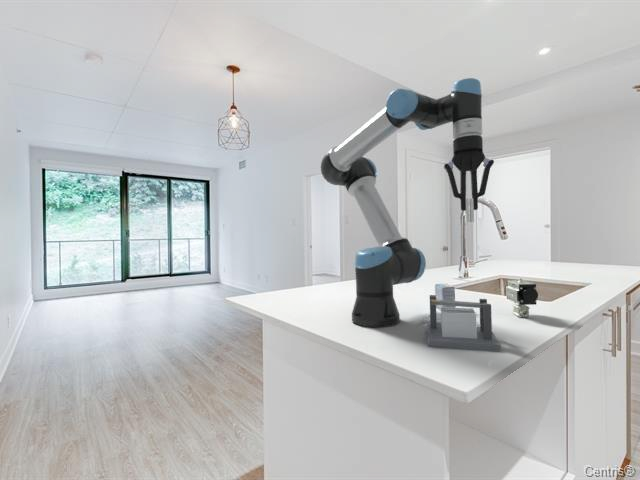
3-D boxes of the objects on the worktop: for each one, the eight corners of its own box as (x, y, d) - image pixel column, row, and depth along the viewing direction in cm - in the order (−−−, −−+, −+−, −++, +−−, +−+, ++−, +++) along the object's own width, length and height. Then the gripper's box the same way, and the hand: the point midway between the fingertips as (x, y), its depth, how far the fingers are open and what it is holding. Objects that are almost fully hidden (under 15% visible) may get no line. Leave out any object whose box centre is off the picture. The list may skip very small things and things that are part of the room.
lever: (431, 306, 87) (431, 301, 87) (430, 302, 91) (431, 297, 91) (489, 310, 83) (489, 305, 83) (486, 306, 87) (486, 301, 87)
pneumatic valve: (520, 311, 112) (519, 275, 112) (539, 321, 101) (538, 281, 100) (502, 311, 113) (501, 276, 113) (519, 321, 101) (519, 281, 101)
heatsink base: (428, 346, 83) (427, 304, 83) (427, 329, 96) (426, 293, 96) (500, 351, 78) (499, 306, 78) (489, 332, 91) (488, 294, 91)
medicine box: (456, 311, 115) (455, 286, 115) (442, 312, 115) (442, 287, 115) (447, 306, 123) (446, 283, 123) (435, 307, 123) (434, 283, 123)
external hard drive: (458, 318, 110) (451, 328, 99) (433, 315, 114) (423, 324, 104) (458, 313, 110) (450, 322, 99) (433, 310, 114) (422, 319, 103)
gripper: (442, 137, 92) (444, 222, 93) (497, 131, 88) (499, 220, 89) (441, 143, 100) (443, 223, 100) (491, 138, 95) (493, 221, 96)
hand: (469, 222), depth 95 cm, fingers closed
